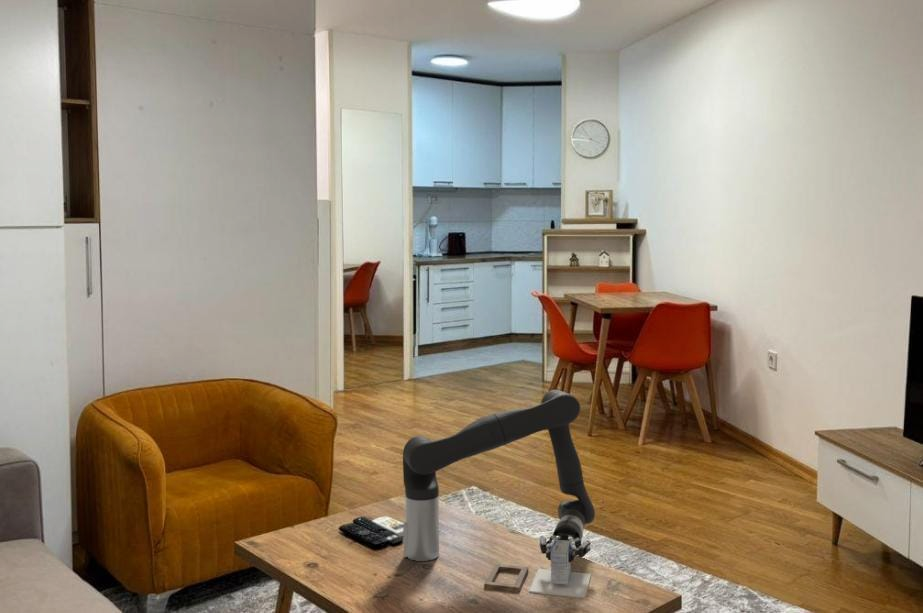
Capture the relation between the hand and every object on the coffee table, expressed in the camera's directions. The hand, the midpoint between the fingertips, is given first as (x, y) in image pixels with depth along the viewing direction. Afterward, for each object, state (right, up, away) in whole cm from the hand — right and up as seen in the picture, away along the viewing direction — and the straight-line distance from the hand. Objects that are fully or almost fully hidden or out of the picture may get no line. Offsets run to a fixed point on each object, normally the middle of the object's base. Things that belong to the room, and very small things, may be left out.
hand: (559, 557), depth 220 cm
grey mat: (+1, -8, +3) cm, 9 cm away
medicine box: (+1, -6, +3) cm, 7 cm away
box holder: (-13, -7, +6) cm, 16 cm away
